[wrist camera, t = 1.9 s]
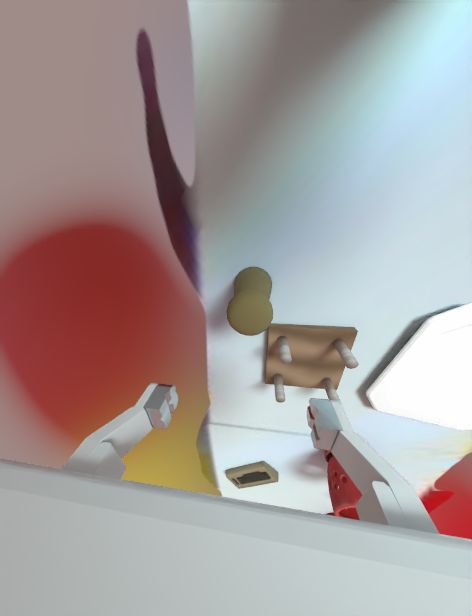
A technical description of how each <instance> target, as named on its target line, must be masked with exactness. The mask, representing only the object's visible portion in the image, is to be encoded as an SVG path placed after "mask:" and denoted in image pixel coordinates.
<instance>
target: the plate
mask: <svg viewBox="0 0 472 616" xmlns="http://www.w3.org/2000/svg"><path fill="white" fill-rule="evenodd" d="M366 395H367V397H368V399H369V401H370V403H371V405H372V407H373V408H374V409H375V410H377V411H382V412H386V413H390V414H394V415H399V416H403V417H407V418H412V419H416V420H420V421H424V422H429V423H433V424H437V425H441V426H446V427H450V428H454V429H459V430H469V429H472V302H471V303H468V304H465V305H462V306H459V307H457V308H454V309H451V310H448V311H446V312H443V313H440V314H437V315H435V316H432V317H430V318H429V319H427V320H426V321H425V322H424V323H423V324H422V326H421V327H420V328H419V329H418V330H417V331H416V333H415V334H414V335H413V336H412V337H411V339H410V340H409V341H408V342H407V343H406V345H405V346H404V347H403V348H402V349H401V350H400V352H399V353H398V354H397V355H396V356H395V358H394V359H393V360H392V361H391V362H390V363H389V365H388V366H387V367H386V368H385V369H384V371H383V372H382V373H381V374H380V375H379V377H378V378H377V379H376V380H375V381H374V382H373V384H372V385H371V386H370V387H369V388H368V390H367V391H366Z"/></svg>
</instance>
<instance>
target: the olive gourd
mask: <svg viewBox="0 0 472 616" xmlns="http://www.w3.org/2000/svg"><path fill="white" fill-rule="evenodd" d="M271 289H272V281H271V277H270V276H269V275H268V273H267V272H266V271H264V270H263V269H261V268H258V267H249V268H245V269H243V270H242V271H241V272H239V274H238V275H237V277H236V279H235V283H234V297H233V298H232V299H231V301H230V302H229V305H228V308H227V319H228V321H229V324H230V325H231V326H232V327H233V329H234V330H236V331H237V332H239V333H240V334H243V335H250V336H252V335H257V334H259V333H261V332H263V331H265V330H266V329H267V328H268V327H269V325H270V323H271V321H272V319H273V309H272V305H271V303H270V301H269V298H270V294H271Z"/></svg>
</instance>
